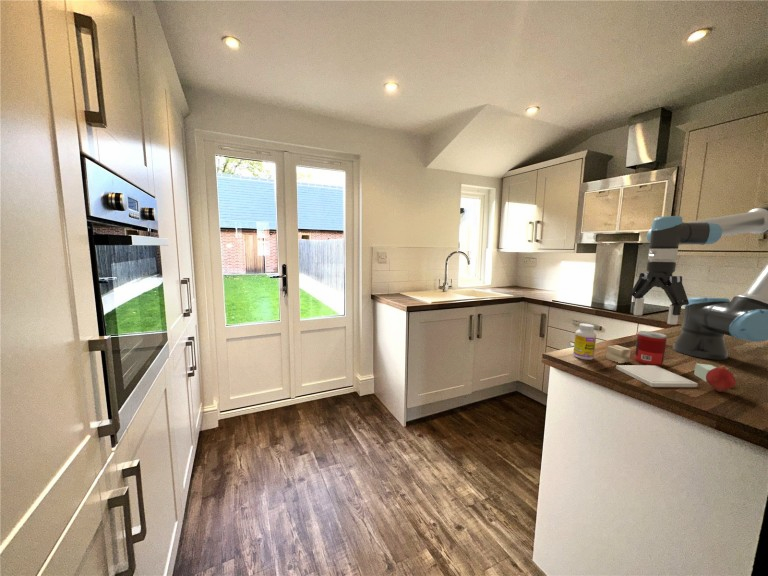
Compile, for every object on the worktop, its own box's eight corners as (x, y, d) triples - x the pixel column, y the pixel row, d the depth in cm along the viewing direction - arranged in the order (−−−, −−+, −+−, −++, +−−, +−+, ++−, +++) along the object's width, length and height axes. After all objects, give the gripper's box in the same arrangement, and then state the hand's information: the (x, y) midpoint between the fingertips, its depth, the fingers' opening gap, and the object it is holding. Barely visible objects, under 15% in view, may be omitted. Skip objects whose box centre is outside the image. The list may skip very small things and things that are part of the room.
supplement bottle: (583, 360, 111) (586, 327, 109) (569, 354, 118) (572, 323, 116) (598, 359, 113) (601, 326, 111) (583, 353, 119) (586, 322, 117)
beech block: (615, 357, 115) (617, 345, 115) (629, 362, 111) (630, 349, 110) (605, 358, 114) (607, 346, 113) (619, 363, 109) (620, 350, 109)
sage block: (709, 376, 99) (711, 365, 98) (722, 384, 93) (724, 372, 93) (694, 374, 100) (695, 363, 100) (706, 382, 95) (707, 370, 94)
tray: (655, 368, 104) (655, 365, 104) (697, 387, 91) (697, 382, 90) (615, 368, 104) (616, 364, 104) (651, 386, 90) (652, 382, 90)
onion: (698, 386, 91) (702, 361, 90) (715, 386, 91) (719, 361, 90) (721, 396, 85) (726, 369, 84) (739, 395, 86) (744, 369, 84)
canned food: (668, 367, 106) (672, 337, 104) (642, 365, 107) (646, 335, 106) (653, 359, 113) (657, 331, 112) (629, 357, 115) (633, 330, 113)
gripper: (622, 259, 118) (616, 311, 121) (687, 262, 93) (677, 328, 96) (641, 259, 118) (634, 312, 121) (710, 262, 93) (700, 328, 96)
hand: (653, 319), depth 108 cm, fingers open, 13 cm apart
